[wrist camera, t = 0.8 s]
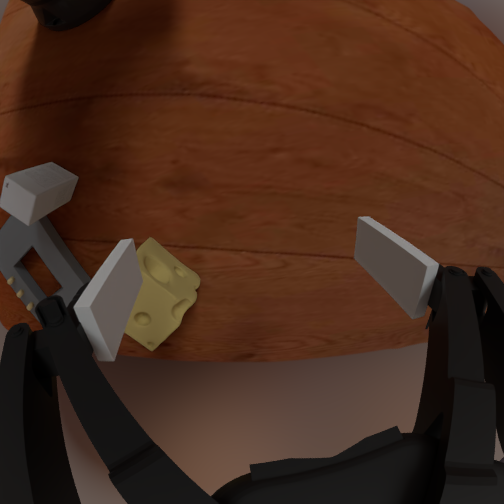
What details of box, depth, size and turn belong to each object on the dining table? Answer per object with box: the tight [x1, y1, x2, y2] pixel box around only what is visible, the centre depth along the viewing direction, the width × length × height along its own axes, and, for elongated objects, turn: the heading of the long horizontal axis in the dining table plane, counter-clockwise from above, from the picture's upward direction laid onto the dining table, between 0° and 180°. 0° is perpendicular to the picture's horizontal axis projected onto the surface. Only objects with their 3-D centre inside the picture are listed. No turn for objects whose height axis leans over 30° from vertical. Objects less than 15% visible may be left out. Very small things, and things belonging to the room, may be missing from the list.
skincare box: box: [0, 162, 79, 226], centre depth 27 cm, size 6×4×12 cm
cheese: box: [124, 237, 200, 351], centre depth 37 cm, size 10×11×10 cm
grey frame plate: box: [0, 215, 91, 322], centre depth 36 cm, size 22×16×4 cm
